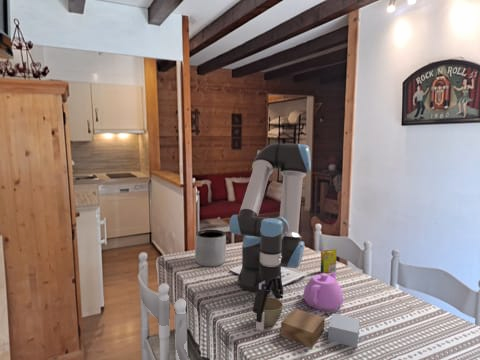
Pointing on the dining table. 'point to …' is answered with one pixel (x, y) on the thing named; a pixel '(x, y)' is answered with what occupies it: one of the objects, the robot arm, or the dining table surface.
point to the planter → (210, 248)
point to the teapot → (323, 292)
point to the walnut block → (302, 327)
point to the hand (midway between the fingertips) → (268, 321)
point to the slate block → (344, 330)
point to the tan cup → (272, 311)
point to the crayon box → (328, 261)
